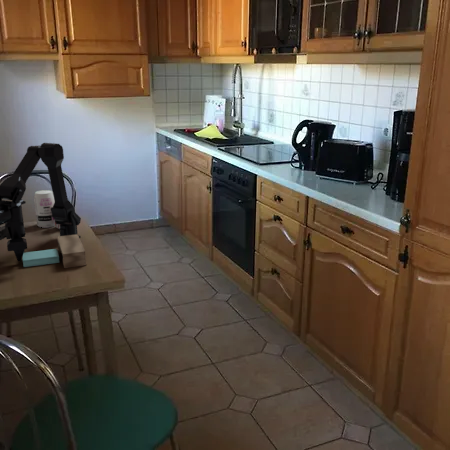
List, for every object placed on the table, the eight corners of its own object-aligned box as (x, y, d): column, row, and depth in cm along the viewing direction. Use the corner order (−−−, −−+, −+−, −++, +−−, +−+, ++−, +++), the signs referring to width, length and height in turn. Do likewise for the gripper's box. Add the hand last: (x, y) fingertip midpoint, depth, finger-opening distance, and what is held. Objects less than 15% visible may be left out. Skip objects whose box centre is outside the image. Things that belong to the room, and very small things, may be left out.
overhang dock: (64, 268, 180) (62, 254, 178) (58, 249, 197) (57, 236, 196) (86, 265, 183) (85, 251, 181) (78, 247, 200) (77, 234, 199)
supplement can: (49, 221, 231) (45, 188, 227) (60, 224, 227) (57, 191, 222) (33, 225, 225) (29, 192, 221) (45, 229, 221) (41, 195, 216)
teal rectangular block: (23, 267, 180) (22, 260, 180) (22, 259, 187) (21, 252, 187) (59, 262, 185) (58, 256, 184) (57, 255, 192) (56, 248, 191)
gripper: (-11, 214, 184) (-6, 255, 188) (-12, 229, 167) (-6, 274, 172) (22, 211, 188) (27, 251, 192) (24, 225, 171) (29, 269, 176)
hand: (19, 261), depth 183 cm, fingers closed
